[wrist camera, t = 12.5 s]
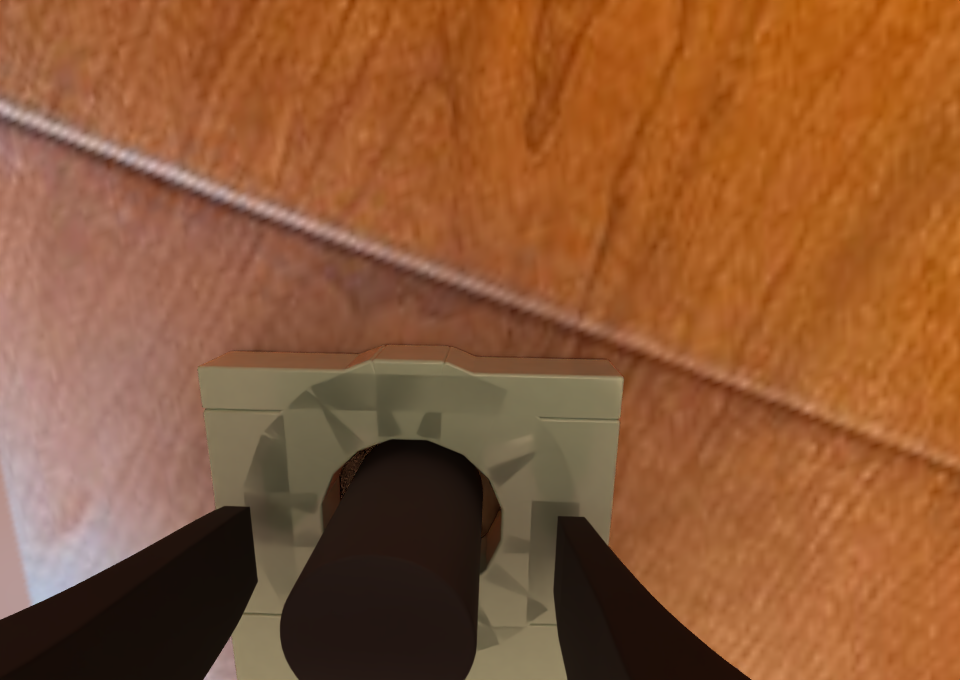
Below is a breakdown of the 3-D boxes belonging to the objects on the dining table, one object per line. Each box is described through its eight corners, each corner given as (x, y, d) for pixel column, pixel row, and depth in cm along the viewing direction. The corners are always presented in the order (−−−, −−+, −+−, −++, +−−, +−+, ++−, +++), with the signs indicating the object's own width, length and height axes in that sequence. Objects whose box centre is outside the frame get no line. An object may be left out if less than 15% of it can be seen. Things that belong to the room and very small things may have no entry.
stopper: (331, 499, 14) (241, 652, 9) (405, 407, 13) (352, 517, 8) (431, 568, 14) (399, 750, 9) (509, 483, 13) (517, 631, 8)
